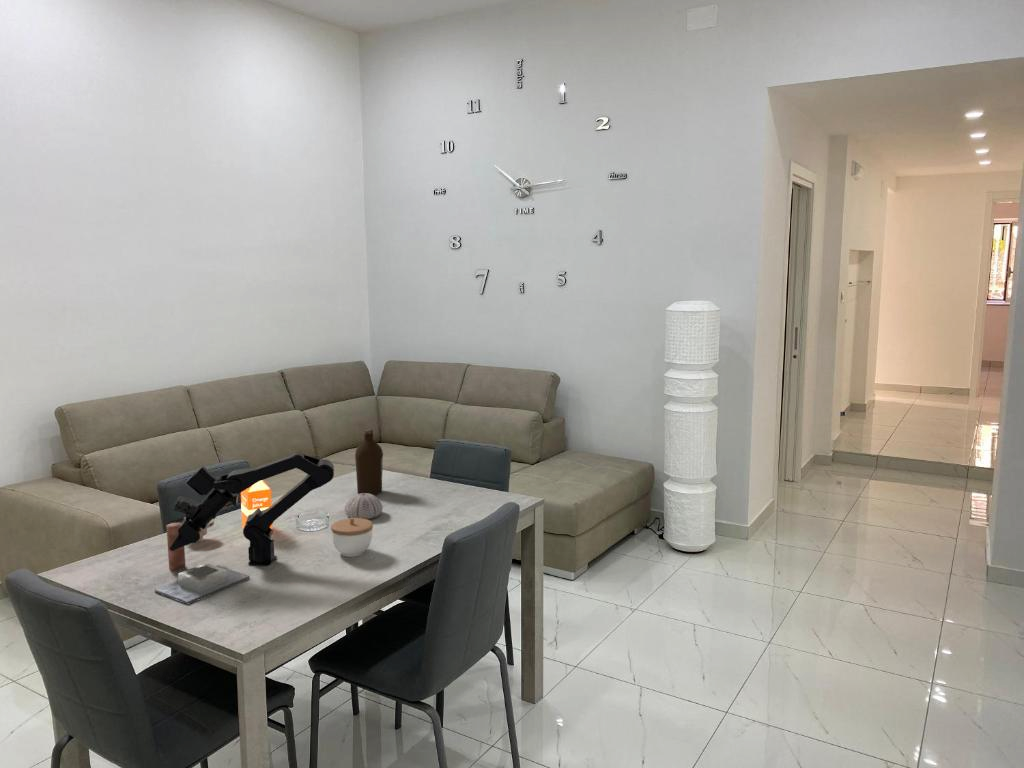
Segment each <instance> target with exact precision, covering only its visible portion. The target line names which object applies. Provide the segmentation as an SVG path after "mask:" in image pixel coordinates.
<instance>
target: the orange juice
mask: <svg viewBox="0 0 1024 768" xmlns="http://www.w3.org/2000/svg"><path fill="white" fill-rule="evenodd" d="M271 505H272V489H271V488H270V487H269V486H268V484H267V483H266V482H265V481H264V480H261V481H259V482H257V483H255V484H254V485H252V486H251V487H249V488H248V489H246V490H244V491H242V492H241V493H240V509H241V527H242V530H243V529H244V526H245V523H246V521H247V518H248V515H251V514H253V513H254V512H255V511H256V510H257V509H258V508H259V509H260V510H261V511H263V510H265V509H267V508H269V507H270V506H271ZM270 528H271V529H272V530H273V524H272V525H271V526H270Z"/></svg>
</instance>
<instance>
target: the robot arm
mask: <svg viewBox="0 0 1024 768" xmlns="http://www.w3.org/2000/svg"><path fill="white" fill-rule="evenodd" d="M294 469H298V470H299V471H302V472H304V473H305V474H306V475H305V476H304V478H303V479H302V480H300V481H299V482H298V483H297V484H296V485H295V486H293V487H292V488H291V489H290V490H288V491H287V492H286V493H285V494H284V495H282V496H281V497H280V498H278V499H277V500H276V501H275V502H273V503H271V506H270V507H269V508H267V509H265V510H263V511H261V510H260V509H259V508H258V509H257V510H256V511H255V512H254V513H253V514H251V515H248V518H247V521H246V523H245V526H244V529H243V528H242V532H243V533H242V534H243V536H244V538H245V539H246V540H248V541H249V546H248V549H247V550H248V563H247V565H249V566H252V565H253V566H271V564H272V563H273V562H274V561H275V560H276V559H277V557H278V556H277V555H275V539H272V535H273V531H274V529H273V528H272V529H271V528H270V526H271V525H272V526H273V523H275V521H276V520H278V518H280V517H281V516H282V515H283V514H285V513H286V512H287V511H288V510H290V509H291V508H292V507H294V505H295V504H297V503H298V502H299V501H300V500H302V499H303V498H304V497H305V496H306V495H308V494H309V493H310V492H312V491H313V490H315V489H318V488H321V487H323V486H324V485H326V484H328V483H330V482H331V481H332V480H333V479H334V476H335V475H334V474H335V467H334V464H333V462H332V461H331V460H328V459H320V458H317V457H315V456H311V455H307V454H304V453H302V452H299V451H296V452H294V453H292V454H290V455H287V456H284V457H282V458H279V459H276V460H273V461H270V462H267V463H264V464H262V465H259V466H255V467H246V468H245V467H244V468H239V469H235V470H232V471H230V472H229V473H226V474H221V475H217V476H215V475H214V474H213V473H211V472H210V471H209V470H208V468H207V467H205V466H203V465H202V466H201V467H200V468H199V469H197V470H196V471H194V472H193V473H192V475H190V476H189V478H188V479H187V480H186V481H184V482H185V483H184V484H185V485H186V486H187V487H188V488H190V489H191V490H192V491H194V492H195V493H196V494H197V495H199V496H202V497H203V496H206V495H207V496H206V497H205V498H204V499H200V501H199V502H198V501H196V500H194V499H191V498H189V497H186V496H183V495H179V496H178V497H177V499H176V501H175V503H174V505H173V508H172V510H173V511H175V512H179V513H182V514H185V517H186V521H185V520H183V522H181V523H182V524H181V525H180V526H179V528H178V534H179V535H178V537H177V538H176V539H175V541H174V542H173V544H172V545H171V547H170V548H169V549H170V550H171V551H173V550H176V549H178V548H181V547H183V546H184V547H185V546H188V545H191V544H196V543H197V542H199V541H198V540H199V539H200V537H201V535H202V530H201V529H200V528H202V529H205V528H206V526H207V524H208V523H209V522H210V521H211V520H212V519H214V520H215V519H216V518H217V516H218V515H219V513H220V512H221V511H222V510H224V508H226V506H228V504H229V503H231V504H232V505H234V506H237V505H238V502H239V501H238V500H239V499H238V497H239V494H241V492H242V491H244V490H246V489H248V488H249V487H251V486H252V485H254V484H255V483H257V482H259V481H261V480H263V481H264V480H266V479H269V478H273V477H275V476H278V475H280V474H283V473H286V472H289V471H291V470H292V471H293V470H294Z"/></svg>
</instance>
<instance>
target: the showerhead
mask: <svg viewBox="0 0 1024 768" xmlns="http://www.w3.org/2000/svg"><path fill="white" fill-rule="evenodd" d="M183 521H186V516H184V517H183ZM214 525H215V519H212V520H211V521H210V522H209V523H208V524H207V526H206V528H205V529H202V528H200V529H201V530H202V535H201V537H200V539H199V540H198V541H197V542H202V541H204V536H205V535H207V534H208V529H209V528H212V527H213V526H214ZM201 540H202V541H201Z"/></svg>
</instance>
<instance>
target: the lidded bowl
mask: <svg viewBox="0 0 1024 768" xmlns="http://www.w3.org/2000/svg"><path fill="white" fill-rule="evenodd" d="M373 525H374V524H373V522H372V520H371V519H362V518H350V517H347V518H343V519H338V520H337V521H334V522H333V523H332V524H331V525H330V530H331V538H332V539H331V540H332V544H333V545H334V548H335V550H337V552H338V553H340V555H341V556H342V557H346V558H354V557H355V556H356V557H360V556H363V555H364V554H365V552H366V551H367V550H368V549H369V547H370V545H371V544H372V543H371V542H372V539H373V527H374V526H373ZM363 553H364V554H363ZM356 557H355V558H356Z"/></svg>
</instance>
